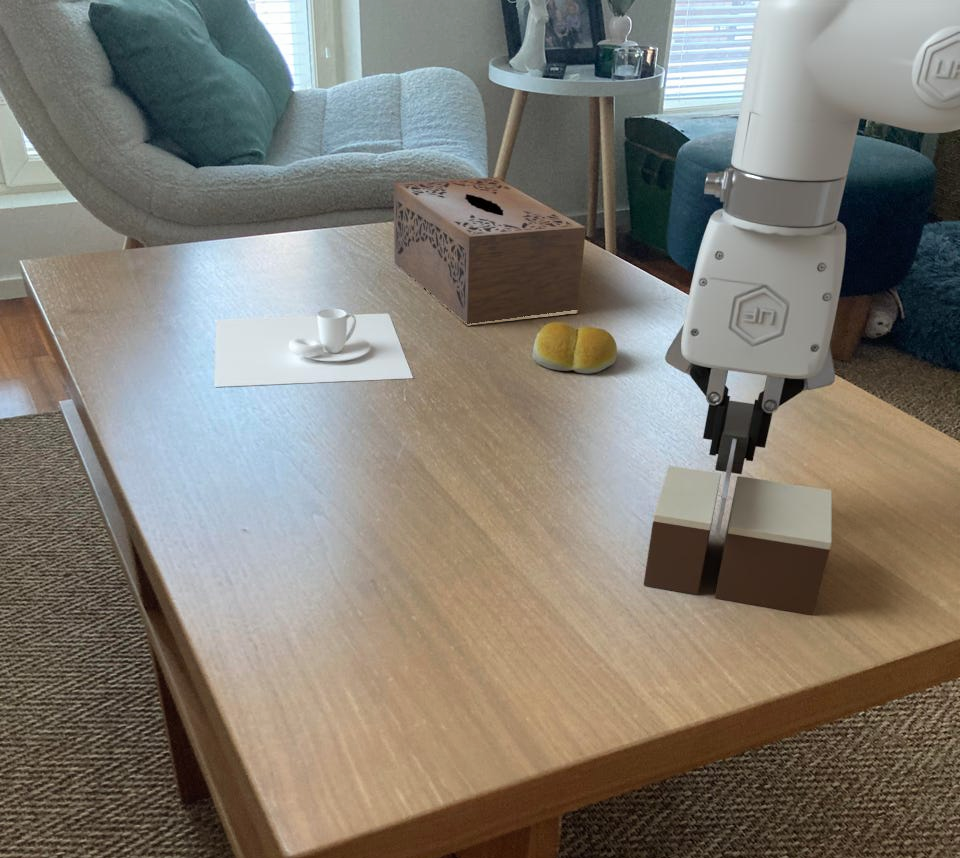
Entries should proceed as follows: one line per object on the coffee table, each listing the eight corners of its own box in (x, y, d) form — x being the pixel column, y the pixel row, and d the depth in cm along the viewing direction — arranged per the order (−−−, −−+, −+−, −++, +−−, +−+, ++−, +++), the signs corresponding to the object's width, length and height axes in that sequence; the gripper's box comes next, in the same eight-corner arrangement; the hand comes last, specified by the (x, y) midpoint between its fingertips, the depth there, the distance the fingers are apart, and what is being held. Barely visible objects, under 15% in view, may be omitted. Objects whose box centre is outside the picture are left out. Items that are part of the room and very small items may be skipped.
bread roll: (614, 378, 108) (618, 341, 105) (529, 371, 108) (531, 334, 106) (617, 350, 114) (621, 314, 112) (536, 344, 115) (539, 308, 113)
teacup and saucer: (291, 367, 107) (287, 328, 105) (287, 340, 113) (284, 303, 111) (374, 363, 109) (373, 325, 106) (366, 337, 115) (365, 300, 112)
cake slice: (708, 541, 81) (721, 473, 77) (697, 595, 75) (711, 523, 71) (657, 533, 82) (668, 465, 78) (643, 585, 76) (654, 514, 72)
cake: (813, 559, 79) (832, 489, 76) (812, 615, 73) (832, 542, 70) (723, 544, 81) (737, 475, 77) (714, 598, 74) (728, 526, 71)
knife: (722, 434, 84) (728, 400, 82) (747, 438, 84) (754, 403, 82) (702, 531, 71) (709, 492, 69) (731, 536, 70) (740, 497, 68)
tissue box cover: (394, 263, 138) (393, 183, 132) (493, 254, 143) (496, 177, 137) (466, 326, 119) (469, 236, 113) (578, 314, 124) (585, 227, 118)
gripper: (656, 199, 67) (622, 455, 78) (909, 225, 64) (838, 489, 75) (670, 175, 73) (637, 417, 84) (903, 198, 70) (837, 446, 81)
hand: (732, 449), depth 79 cm, fingers closed on knife, 2 cm apart
